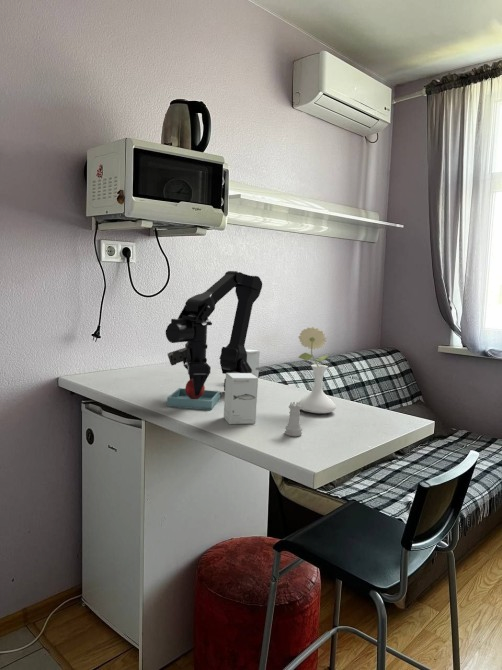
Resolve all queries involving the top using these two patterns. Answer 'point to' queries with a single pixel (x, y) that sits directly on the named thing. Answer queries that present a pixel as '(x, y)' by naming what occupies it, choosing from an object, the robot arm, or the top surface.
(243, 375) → the supplement box
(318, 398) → the flower in vase
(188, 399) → the tray
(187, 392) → the onion
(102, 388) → the top surface
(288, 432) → the rook chess piece
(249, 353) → the skincare box
